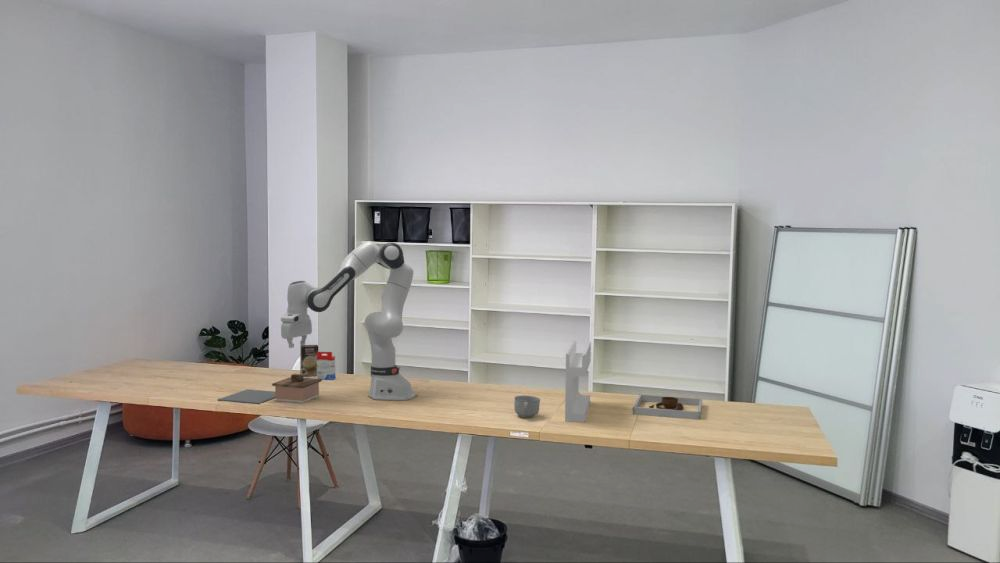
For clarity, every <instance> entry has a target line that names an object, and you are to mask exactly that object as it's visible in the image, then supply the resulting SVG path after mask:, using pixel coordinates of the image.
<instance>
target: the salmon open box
mask: <svg viewBox="0 0 1000 563" xmlns="http://www.w3.org/2000/svg"><path fill="white" fill-rule="evenodd" d="M274 387H275V388H274V389H275V391H274V392H275V394H276V398H275V401H276V402H285V403H286V402H288V403H299V404H303V403H305V402H309V401H311V400H313V399H316V398H318V397H319V396H320V382H318V383H316V384H313V385H310V386H308V387H305V388H294V387H282V386H274Z"/></svg>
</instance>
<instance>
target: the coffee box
mask: <svg viewBox="0 0 1000 563" xmlns="http://www.w3.org/2000/svg"><path fill="white" fill-rule="evenodd" d="M317 352H319V345H318V344H305V345H300V352H299V353H300V355H299V357H300V360H299V361H300V362H299V365H300V367H299V368H300V371H299V372H300V374H301V375H303V378H310V377H317Z"/></svg>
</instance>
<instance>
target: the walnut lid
mask: <svg viewBox="0 0 1000 563" xmlns="http://www.w3.org/2000/svg"><path fill="white" fill-rule="evenodd" d="M318 382H319V383H321V382H323V380H322V379H317V378H311V377H303V375H301V374H298V373H297V374H296V373H292V374H291V375H290V377H287V378H284V379H282V380H279V381H275V382H272V383H271V385H272V387H275V386H282V387H294V388H305V387H308V386H310V385H313V384H316V383H318Z"/></svg>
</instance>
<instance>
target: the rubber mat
mask: <svg viewBox="0 0 1000 563" xmlns="http://www.w3.org/2000/svg"><path fill="white" fill-rule="evenodd" d="M274 399H276V394H275V391H273V390H260V389H248V388H247V389H245V390H242V391H238V392H236V393H233V394H229V395H226V396H224V397H221V398H217V401H220V402H233V403H240V404H241V403H242V404H243V403H244V404H246V403H247V404H255V405H261V404H263V403H266V402H269V401H271V400H274Z"/></svg>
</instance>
